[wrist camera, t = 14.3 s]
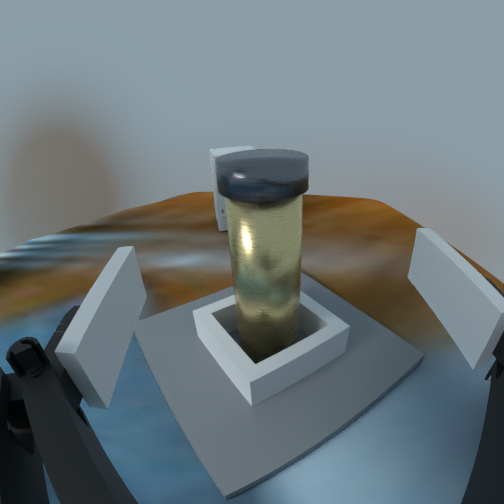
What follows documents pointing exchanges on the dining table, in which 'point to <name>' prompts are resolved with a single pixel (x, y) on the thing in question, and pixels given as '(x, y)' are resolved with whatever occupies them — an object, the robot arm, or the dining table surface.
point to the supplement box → (218, 199)
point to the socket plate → (269, 381)
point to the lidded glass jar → (265, 244)
